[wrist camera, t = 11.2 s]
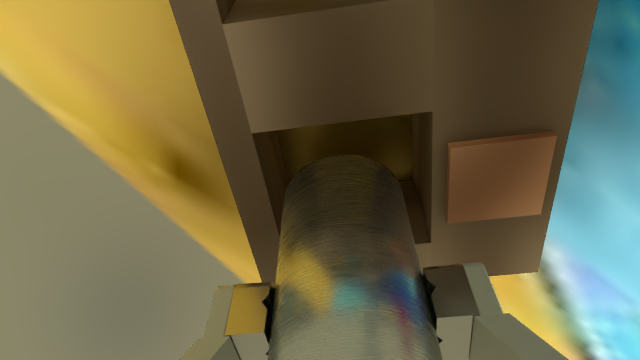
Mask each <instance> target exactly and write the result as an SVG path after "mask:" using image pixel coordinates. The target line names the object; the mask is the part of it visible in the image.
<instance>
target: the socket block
mask: <svg viewBox="0 0 640 360" xmlns="http://www.w3.org/2000/svg"><path fill="white" fill-rule="evenodd" d="M598 1H599V0H169V2H170V5H171V8H172V11H173V14H174V17H175V20H176V23H177V26H178V29H179V32H180V35H181V38H182V41H183V44H184V47H185V50H186V53H187V56H188V59H189V62H190V65H191V68H192V71H193V74H194V77H195V80H196V83H197V87H198V90H199V93H200V96H201V99H202V102H203V105H204V108H205V111H206V114H207V117H208V120H209V123H210V126H211V129H212V132H213V135H214V138H215V141H216V144H217V147H218V150H219V153H220V156H221V159H222V162H223V165H224V168H225V171H226V174H227V177H228V180H229V183H230V186H231V189H232V192H233V195H234V199H235V202H236V205H237V208H238V211H239V214H240V217H241V220H242V223H243V226H244V229H245V232H246V235H247V238H248V241H249V244H250V247H251V250H252V253H253V256H254V259H255V262H256V265H257V268H258V271H259V274H260V277H261V280H262V283H263V282H273V283H274V286H275V282H276V272H277V262H278V253H279V243H280V233H281V223H282V213H283V204H284V196H285V191H286V189H287V186H288V184H289V182H288V178H287V174H286V169H285V165H284V160H283V156H282V152H281V147H280V143H279V139H278V134H277V130H283V129H291V128H300V127H308V126H316V125H324V124H333V123H341V122H349V121H357V120H366V119H374V118H382V117H390V116H399V115H407V114H413V166H414V179H413V180H404V181H398V182H399V184H400V186H401V189H402V193H403V197H404V201H405V205H406V209H407V213H408V217H409V222H410V226H411V230H412V234H413V238H414V242H415V246H416V251H417V255H418V259H419V263H420V267H421V271H423V267H433V266H443V265H452V264H465V263H476V262H481V263H482V264H483V265H484V267H485V269H486V272H487V274H488V276H497V275H509V274H520V273H532V272H538V268H539V263H540V259H541V255H542V250H543V246H544V241H545V237H546V232H547V228H548V223H549V219H550V215H551V210H552V206H553V201H554V197H555V192H556V188H557V183H558V179H559V174H560V170H561V166H562V161H563V157H564V152H565V148H566V143H567V139H568V134H569V130H570V126H571V121H572V117H573V112H574V108H575V103H576V99H577V94H578V90H579V86H580V81H581V77H582V72H583V68H584V63H585V59H586V54H587V50H588V45H589V41H590V37H591V32H592V28H593V23H594V19H595V14H596V10H597V5H598Z"/></svg>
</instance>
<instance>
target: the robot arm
mask: <svg viewBox="0 0 640 360" xmlns="http://www.w3.org/2000/svg"><path fill="white" fill-rule="evenodd" d="M422 276H423V280H424V284H425V288H426V293H427V296H428V300H429V304H430V309H431V313H432V318H433V322H434V326H435V330H436V334H437V338H438V342H439V346H440V350H441V354H442V358H443V360H568V359H567V358H566V357H564V356H563V355H562V354H561V353H559V352H558V351H557V350H555V349H554V348H553V347H552V346H550V345H549V344H548V343H547V342H545V341H544V340H543V339H541V338H540V337H539V336H538V335H536V334H535V333H534V332H532V331H531V330H530V329H529V328H527V327H526V326H525V325H524V324H522V323H521V322H520V321H518V320H517V319H516V318H515V317H513V316H512V315H511V314H509V313H507V314H503V312H502V309H501V307H500V304H499V302H498V299H497V297H496V294H495V292H494V289H493V287H492V284H491V282H490V279H489V277H488V274H487V272H486V269H485V267H484V265H483V264H482V263H481V262H476V263H465V264H452V265H443V266H433V267H423V271H422ZM274 292H275V286H274V283H273V282H263V283H248V284H236V285H223V286H218V287H217V289H216V290H215V293H214V297H213V301H212V305H211V309H210V314H209V318H208V322H207V326H206V330H205V334H204V338H200V339H198V340H197V341H196V342H195V343H194V344H193V345H192V346H191V347H190V348H189V349H188V350H187V351H186V353H185V354H184V355H183V356H182V357H181V358H180V359H179V360H268V351H269V341H270V331H271V321H272V311H273V302H274Z"/></svg>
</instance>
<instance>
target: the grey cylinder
mask: <svg viewBox="0 0 640 360" xmlns="http://www.w3.org/2000/svg"><path fill="white" fill-rule="evenodd" d="M268 360H443V358H442V354H441V350H440V346H439V342H438V338H437V334H436V330H435V326H434V322H433V318H432V313H431V309H430V304H429V300H428V296H427V293H426V288H425V284H424V280H423V276H422V271H421V267H420V263H419V259H418V255H417V251H416V246H415V242H414V238H413V234H412V230H411V226H410V222H409V217H408V213H407V209H406V205H405V201H404V197H403V193H402V189H401V186H400V184H399V182H398V180H397V178H396V177H395V176H394V174H393V173H392V172H391V171H390V170H389V169H387V168H386V167H385V166H384V165H382V164H380V163H378V162H377V161H374V160H372V159H369V158H366V157H362V156H357V155H334V156H328V157H325V158H321V159H318V160H316V161H314V162H312V163H310V164H308V165H306V166H305V167H304V168H302V169H301V170H300V171H299V172H298V173H296V174H295V176H294V177H293V178H292V179H291V181H290V182H289V184H288V186H287V189H286V191H285V196H284V204H283V213H282V223H281V233H280V243H279V253H278V262H277V272H276V282H275V292H274V302H273V311H272V321H271V331H270V341H269V351H268Z"/></svg>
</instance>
